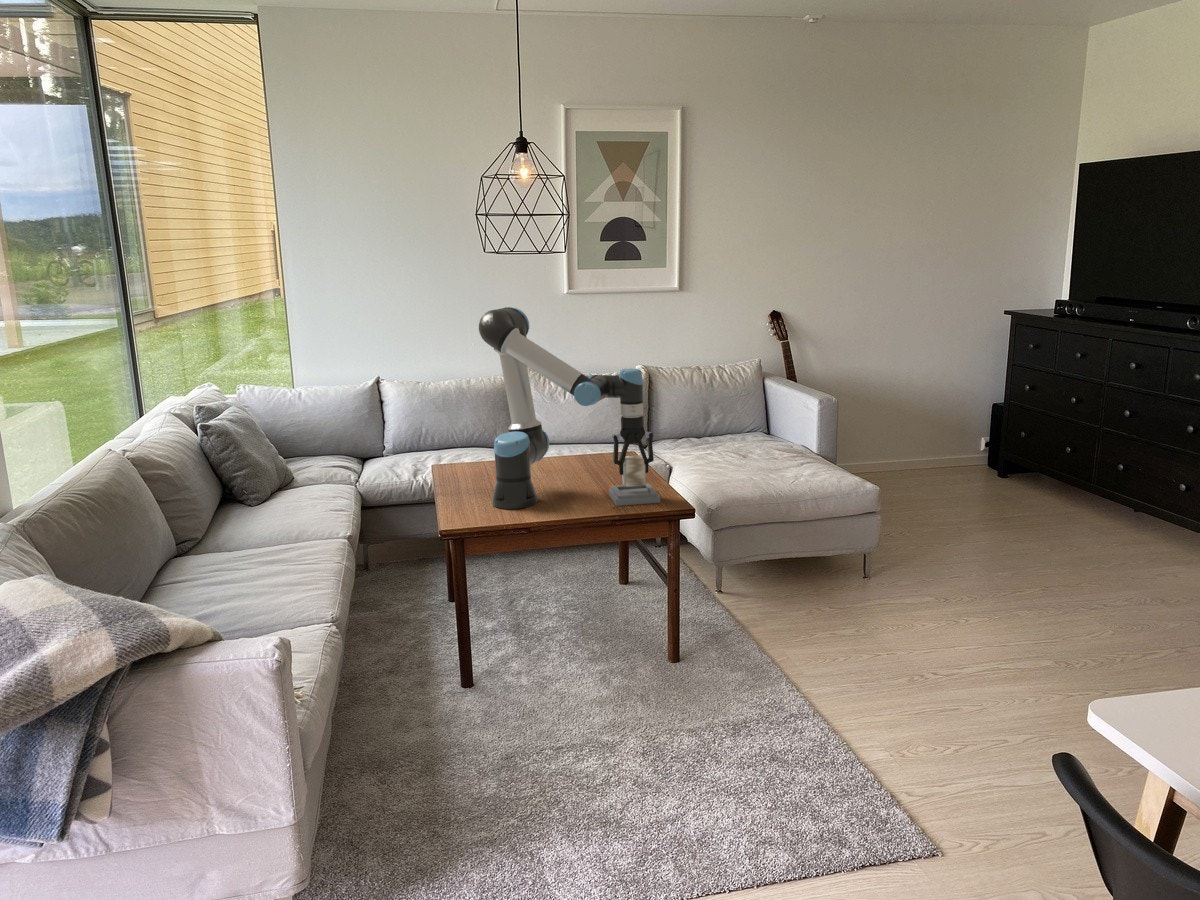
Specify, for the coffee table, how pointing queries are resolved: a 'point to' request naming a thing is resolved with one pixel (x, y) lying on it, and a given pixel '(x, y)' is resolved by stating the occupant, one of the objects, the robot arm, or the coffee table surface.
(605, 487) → the coffee table surface
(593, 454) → the coffee table surface
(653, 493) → the slate plinth
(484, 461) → the coffee table surface
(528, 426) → the robot arm
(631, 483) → the birch block
